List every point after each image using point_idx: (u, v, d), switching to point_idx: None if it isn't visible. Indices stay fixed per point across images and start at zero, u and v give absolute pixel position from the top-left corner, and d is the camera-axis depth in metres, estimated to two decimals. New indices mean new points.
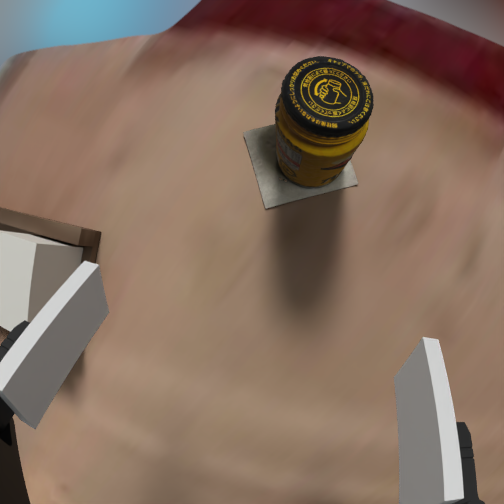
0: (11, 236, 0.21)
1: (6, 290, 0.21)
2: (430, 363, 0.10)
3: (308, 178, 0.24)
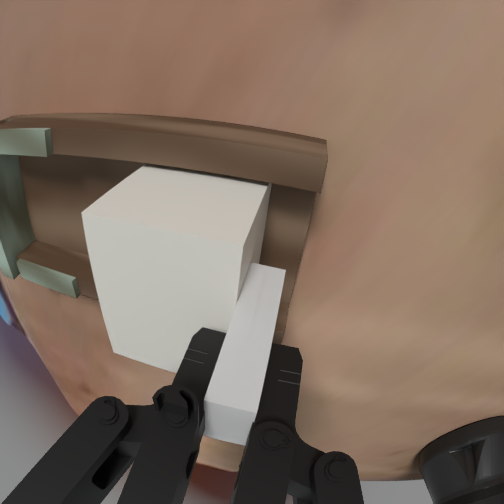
0: (144, 227, 0.10)
1: (159, 324, 0.13)
2: (264, 286, 0.12)
3: None
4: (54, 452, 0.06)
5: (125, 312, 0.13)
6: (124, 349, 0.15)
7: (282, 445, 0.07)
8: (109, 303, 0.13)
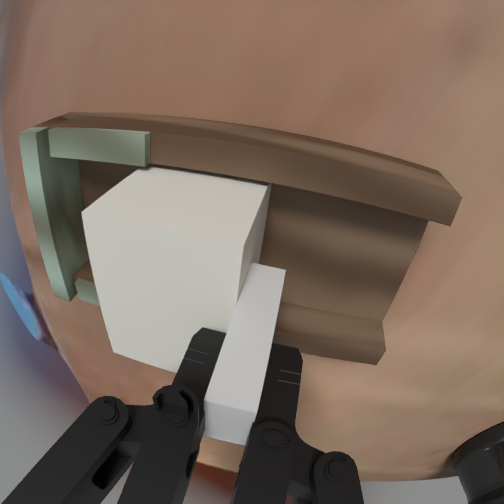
0: (144, 227, 0.10)
1: (158, 324, 0.13)
2: (264, 287, 0.12)
3: None
4: (54, 452, 0.06)
5: (125, 312, 0.13)
6: (124, 349, 0.15)
7: (281, 446, 0.07)
8: (109, 303, 0.13)
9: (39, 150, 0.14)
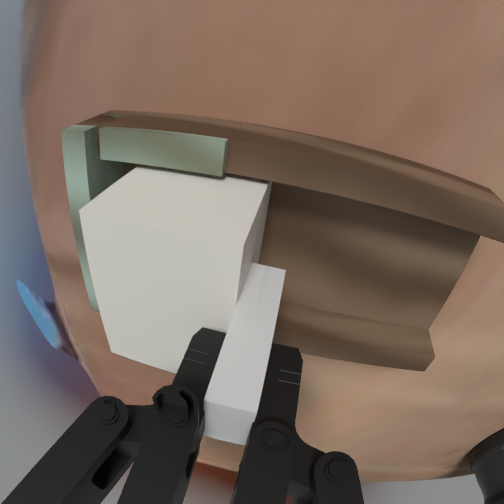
0: (143, 226, 0.10)
1: (157, 324, 0.13)
2: (265, 286, 0.12)
3: None
4: (54, 452, 0.06)
5: (123, 312, 0.13)
6: (122, 349, 0.14)
7: (282, 446, 0.07)
8: (107, 302, 0.13)
9: (87, 151, 0.13)
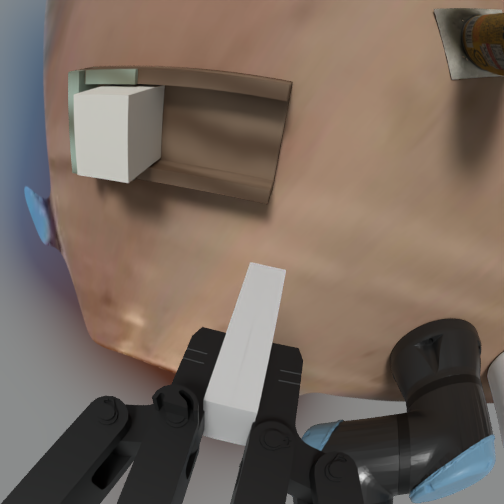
0: (96, 95, 0.23)
1: (99, 145, 0.25)
2: (265, 287, 0.12)
3: (496, 72, 0.19)
4: (54, 452, 0.06)
5: (85, 142, 0.25)
6: (83, 169, 0.27)
7: (282, 446, 0.07)
8: (79, 138, 0.25)
9: (79, 80, 0.26)
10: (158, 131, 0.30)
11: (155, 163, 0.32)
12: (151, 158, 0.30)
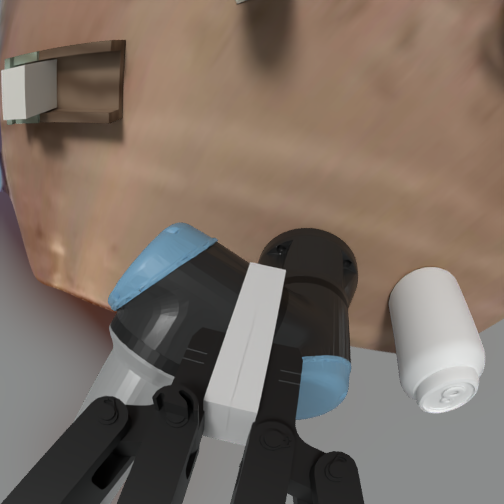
0: (11, 68, 0.30)
1: (12, 98, 0.32)
2: (265, 287, 0.12)
3: None
4: (54, 452, 0.06)
5: (6, 98, 0.32)
6: (5, 116, 0.34)
7: (282, 446, 0.07)
8: (3, 96, 0.32)
9: (10, 63, 0.33)
10: (53, 89, 0.37)
11: (52, 110, 0.39)
12: (47, 106, 0.37)
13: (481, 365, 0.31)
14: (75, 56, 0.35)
